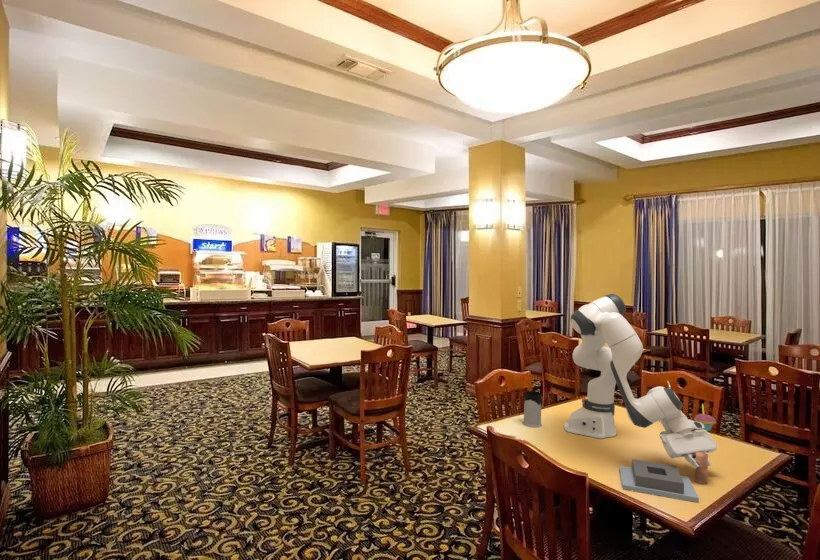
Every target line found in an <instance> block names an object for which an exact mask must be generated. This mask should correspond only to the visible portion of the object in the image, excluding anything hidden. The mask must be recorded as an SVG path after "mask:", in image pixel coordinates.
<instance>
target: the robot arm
mask: <svg viewBox="0 0 820 560" xmlns="http://www.w3.org/2000/svg"><path fill="white" fill-rule="evenodd" d="M626 312H627V307H626V304H625V302H624V301H623V299H622V298H621V297H620V296H619V295H617V294H616V293H609V294H606V295H603V296H602V297H600V298H596V299H595V300H592V301H590V302H589V303H587V304H584V305H582V306H580V307H579V308H578V310H576V311H574V312H573V313H572V314H570V323H571V325H572V328H573V329H574V330H575V331H576V332H577V334H579V335H580V337H581V343H580V344H578V345H577V346H575V347H574V350H573V351H572V360H573V362H574V364H575V365H576V366H579V367H580V368H583V369H589V370H593V371H600V375H599V376H598V377H594V378H593V379H592V378H591V379H590V380H589V382H588V383H587V398H585V397H582V398H581V402H582V406H581V407H579V408H578V409H575V410H574V411H572V413H571V414H570V415H569V419H568V421H565V422H564V424H563V429H564V431H565V432H567V433H571V434H575V435H581V436H586V437H590V438H591V437H592V438H594V439H600V440H601V439H605V438H612V437H615V436H617V434H618V432H617V429H616V424H615V411H616V405H615V401H614V399H615V398H614V397H615V389H616V385H617V388H618V389H619V390H618V391H619V392H620V395H621V397H622V400H623V404H624V406H625V410H626V414H627V418H629V420H630V421H631V423H632V424H633V425H634V426H636V427H639V428H643V429H646V428H647V427H650V426H651V425H653V424H654V423H657V422H659V421H660V422H661V425H662V427H663V429H664V430H663V431H662V430H661V431H660V433H659V438H660V439H661V443H662V445H663V447H664V450H665V453H666V454H667V455H668V457H670V458H671V459H676V458H683V457H684V459H685V460H686V462H688V463H690V464H691V466H692V468H693V469H695V468H699V467H700V464H699V462H698V461H696V459H695V458H692V455H696V452H704V453H706V454H711V453H713V452H715V451H717V450H718V446H717V443H716V441H715V440H714V438H713V437H712V435H711V434H710V433H709V431H706V430H704V428H705V427H704V425H703V424H702V423H700V422H696V421H695V420H692V419H688V417H687V415H685V413H683V411H682V409H683V405H684V403H682V401H681V400H680V398H679V397H678V395H677V394H676V391H675V390H673V389H671V388H670V389H669V387H664V386H660V385H659V386H655V387H652V388H651V389H649V390H648V391H647V393H646V395H643V396H641V397H639V398H638V397H637V398H635V396H634V394H633V392H632V389H631V387H630V384H629V382H628V378H627V375H628V373H629V371H630V370H631V369H632V367H633V366H634V365H635V364H636V363H637V362H638V361H639V359H640V358H641V356H642V354H643V352H644V346H643V342H642V340H641V339H640V337H639V336H638V333H637V332H636V330H635V329H634V328H633V326H632V325H631V324H630V323H629V321H628V320H627V319H626V318H625V317H624V315H625V314H626ZM606 345H607V346H606ZM710 466H712V463H711V461H710V459H709V457H708V467H710Z"/></svg>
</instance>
